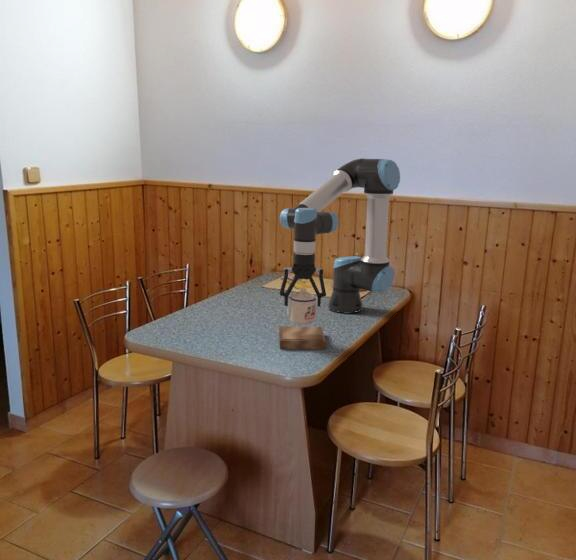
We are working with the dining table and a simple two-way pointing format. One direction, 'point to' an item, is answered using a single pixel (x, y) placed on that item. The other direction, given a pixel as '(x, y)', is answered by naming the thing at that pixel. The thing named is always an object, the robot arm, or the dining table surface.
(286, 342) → the walnut base
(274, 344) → the dining table surface
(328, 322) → the dining table surface
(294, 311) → the teacup with lid
